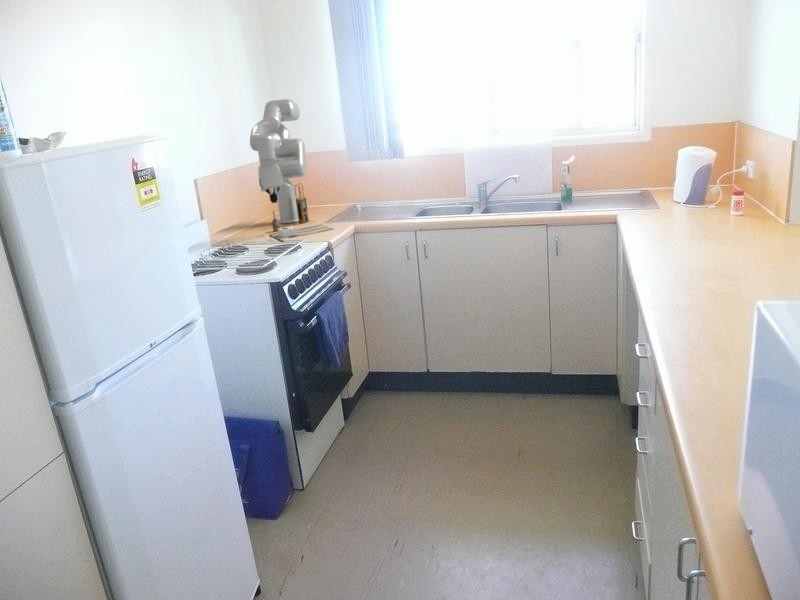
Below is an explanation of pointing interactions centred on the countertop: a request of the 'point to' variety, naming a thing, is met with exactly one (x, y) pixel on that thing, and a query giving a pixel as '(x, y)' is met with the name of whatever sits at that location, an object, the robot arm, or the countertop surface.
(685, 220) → the countertop surface
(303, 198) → the multimeter
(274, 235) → the subfloor panel
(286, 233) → the thermostat
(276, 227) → the awl
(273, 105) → the robot arm
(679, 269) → the countertop surface
